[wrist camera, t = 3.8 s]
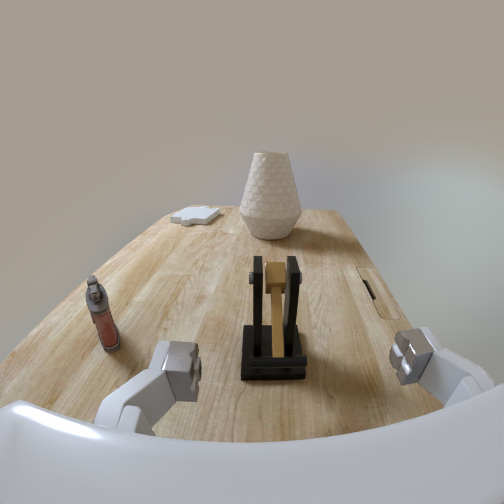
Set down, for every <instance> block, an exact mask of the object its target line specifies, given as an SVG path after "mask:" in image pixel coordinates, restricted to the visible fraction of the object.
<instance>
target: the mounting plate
mask: <svg viewBox="0 0 504 504" xmlns="http://www.w3.org/2000/svg"><path fill="white" fill-rule="evenodd" d="M219 214H220V209H219V208H209V206H201V207H186V208H185V209H183V210H181V211H179V212H178V213H176V214H174V215H173V216H171V217H170V219H171V222H174V223H181V225H182V226H189V225H191V224H205V225H206V224H207V223H209V222H210V221H211V220H212V219H214V218H215V217H216V216H217V215H219Z"/></svg>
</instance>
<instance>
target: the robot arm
mask: <svg viewBox="0 0 504 504" xmlns="http://www.w3.org/2000/svg"><path fill="white" fill-rule="evenodd" d="M395 341H396V343H395V344H394V345H393V346H392V347H391V350H390V362H391V365H392V367H393V368H395V369H396V370H397V373H396V375H397V377H398V379H399V381H400V383H401V385H406V384H411V383H416V382H418V384H419V385H421V386H422V387H423V388H424V389H426V390H427V391H428V392H429V393H431V394H432V395H433V396H434V397H435V398H437V399H438V400H439V401H440V402H442V403H443V404H444V405H445V406H444V407H443V408H442V409H441V410H438V411H435V412H432V413H429V414H426V415H423V416H419V417H416V418H413V419H409V420H406V421H402V422H399V423H395V424H391V425H387V426H383V427H379V428H374V429H370V430H365V431H360V432H355V433H349V434H343V435H337V436H330V437H323V438H315V439H306V440H295V441H281V442H256V443H230V442H206V441H192V440H181V439H172V438H164V437H157V436H155V434H154V432H153V431H152V429H151V428H152V427H153V426H154V425H155V424H156V423H157V422H158V421H159V420H160V419H161V417H162V416H163V415H164V414H165V413H166V412H167V411H168V410H169V409H170V408H171V407H172V406H173V405H174V404H175V403H176V401H187V402H197V399H198V393H199V386H198V382H199V381H200V380H201V369H202V367H201V359H200V357H199V356H198V352H199V349H198V344H197V343H192V342H176V341H172V342H171V341H159V342H158V343H157V346H156V349H155V351H154V354H153V357H152V360H151V362H150V365H149V368H148V369H144V370H143V371H141V372H140V373H139V374H137V375H136V376H135V377H133V378H132V379H131V380H129V381H128V382H126V383H125V384H124V385H122V386H121V387H120V388H118V389H117V390H115V391H114V392H113V393H111V394H110V395H108V396H107V397H106V398H104V399H103V400H102V403H101V405H100V408H99V410H98V412H97V415H96V417H95V420H94V422H93V423H89V422H85V421H82V420H78V419H75V418H72V417H68V416H65V415H62V414H59V413H56V412H53V411H50V410H48V409H45V408H42V407H40V406H37V405H35V404H32V403H30V402H27V401H24V400H17V401H14V402H12V403H10V404H8V405H6V406H4V407H2V408H0V504H504V382H503V383H501V384H499V385H497V386H496V385H495V383H494V382H493V381H492V379H491V377H490V376H489V374H488V373H487V372H486V370H485V369H484V368H482V367H480V366H478V365H477V364H475V363H473V362H471V361H469V360H467V359H465V358H464V357H462V356H460V355H458V354H456V353H454V352H452V351H451V350H449V349H444V348H443V346H442V345H441V343H440V342H439V341H438V339H437V338H436V336H435V335H434V333H433V332H432V331H431V329H430V328H429V327H421V328H417V329H410V330H404V331H398V333H397V334H396V336H395Z"/></svg>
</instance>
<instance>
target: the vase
mask: <svg viewBox="0 0 504 504" xmlns="http://www.w3.org/2000/svg"><path fill="white" fill-rule="evenodd" d="M239 212H240V215H241V216H242V218H243V220H244V222H245V223H246V225H247V227H248V229H249V231H250V232H251V234H252V235H253V236H255V237H257V238H260V239H267V240H276V239H282V238H285V237H287V236H288V235H289V234H290V232H291V230H292V229H293V227H294V226H295V224H296V222H297V221H298V219H299V217H300V216H301V213H302V211H301V207H300V202H299V198H298V193H297V189H296V185H295V181H294V177H293V173H292V169H291V165H290V162H289V157H288V153H284V152H256V153H255V154H254V158H253V162H252V165H251V169H250V172H249V176H248V180H247V184H246V187H245V191H244V195H243V199H242V202H241V206H240V210H239Z"/></svg>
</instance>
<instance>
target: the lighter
mask: <svg viewBox="0 0 504 504" xmlns="http://www.w3.org/2000/svg"><path fill="white" fill-rule="evenodd" d="M87 284H88V288H87V291H86V302H87V305H88V308H89V310H90V314H91V317H92V320H93V323H94V324H95V325H96V328H97V330H98V336H99V339H100V342H101V344H102V346H103V348H104V350H105V351H106V352H115V351H117V350H118V349H119V348H120V337H119V333H118V330H117V328H116V325H115V323H114V321H113V318H112V315H111V312H110V308H109V303H108V297H107V293H106V291H105V289H104V287H103V286H102V285H101V284H99V283H98V281H97V278H96V277H95V275H92V276H89V277H88V281H87Z"/></svg>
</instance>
